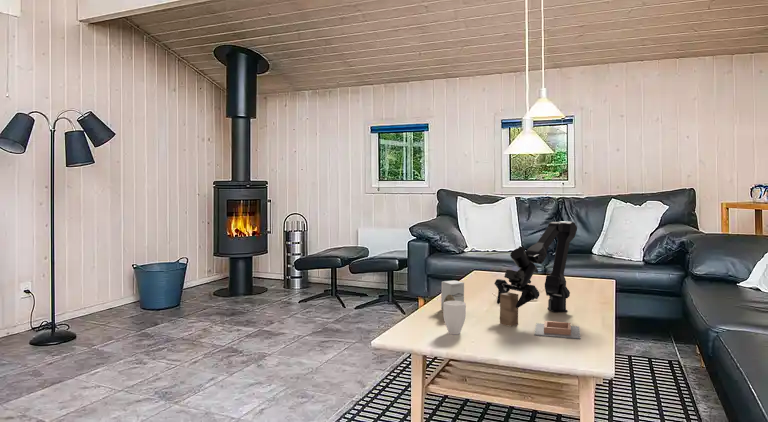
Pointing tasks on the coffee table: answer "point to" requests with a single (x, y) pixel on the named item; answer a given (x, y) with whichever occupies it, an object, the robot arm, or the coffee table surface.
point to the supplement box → (452, 290)
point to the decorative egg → (448, 299)
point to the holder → (557, 330)
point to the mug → (454, 316)
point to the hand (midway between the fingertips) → (506, 305)
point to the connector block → (508, 309)
